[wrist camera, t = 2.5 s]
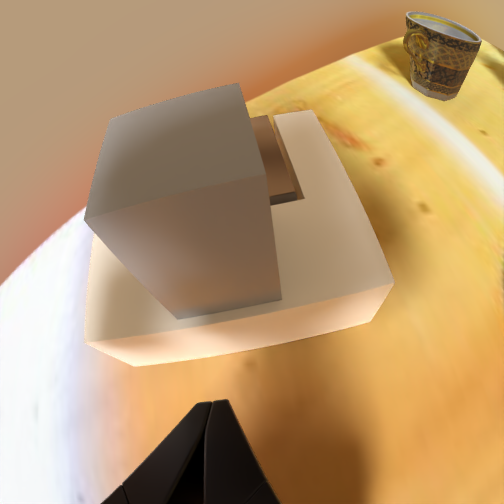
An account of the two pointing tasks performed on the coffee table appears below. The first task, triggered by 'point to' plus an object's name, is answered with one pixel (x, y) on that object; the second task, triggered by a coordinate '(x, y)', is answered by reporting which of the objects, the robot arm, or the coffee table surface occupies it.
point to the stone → (188, 203)
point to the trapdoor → (273, 162)
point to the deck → (289, 264)
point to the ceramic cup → (439, 54)
